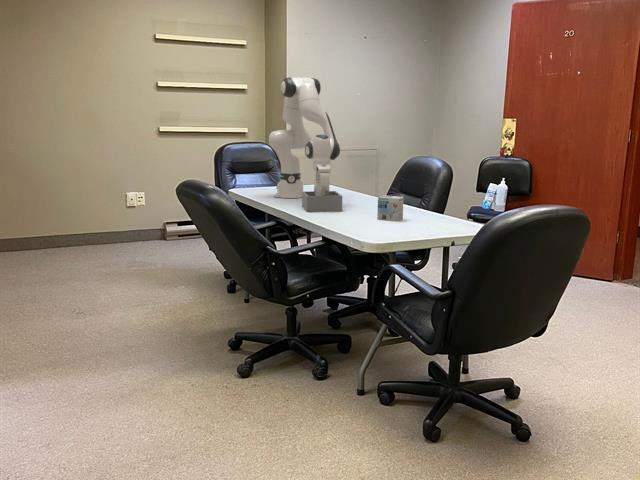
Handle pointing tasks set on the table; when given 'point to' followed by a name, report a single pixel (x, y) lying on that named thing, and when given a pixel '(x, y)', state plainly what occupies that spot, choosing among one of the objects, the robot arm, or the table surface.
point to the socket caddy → (322, 202)
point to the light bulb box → (390, 208)
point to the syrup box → (318, 189)
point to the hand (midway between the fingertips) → (321, 193)
